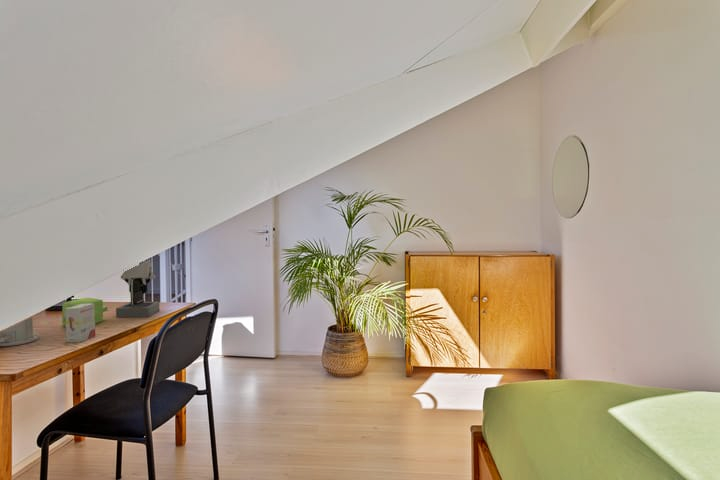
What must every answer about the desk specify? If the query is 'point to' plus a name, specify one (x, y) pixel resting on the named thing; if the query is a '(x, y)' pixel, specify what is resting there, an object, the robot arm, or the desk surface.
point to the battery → (136, 291)
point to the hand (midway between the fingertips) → (138, 292)
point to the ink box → (80, 322)
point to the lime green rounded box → (97, 303)
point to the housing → (137, 310)
